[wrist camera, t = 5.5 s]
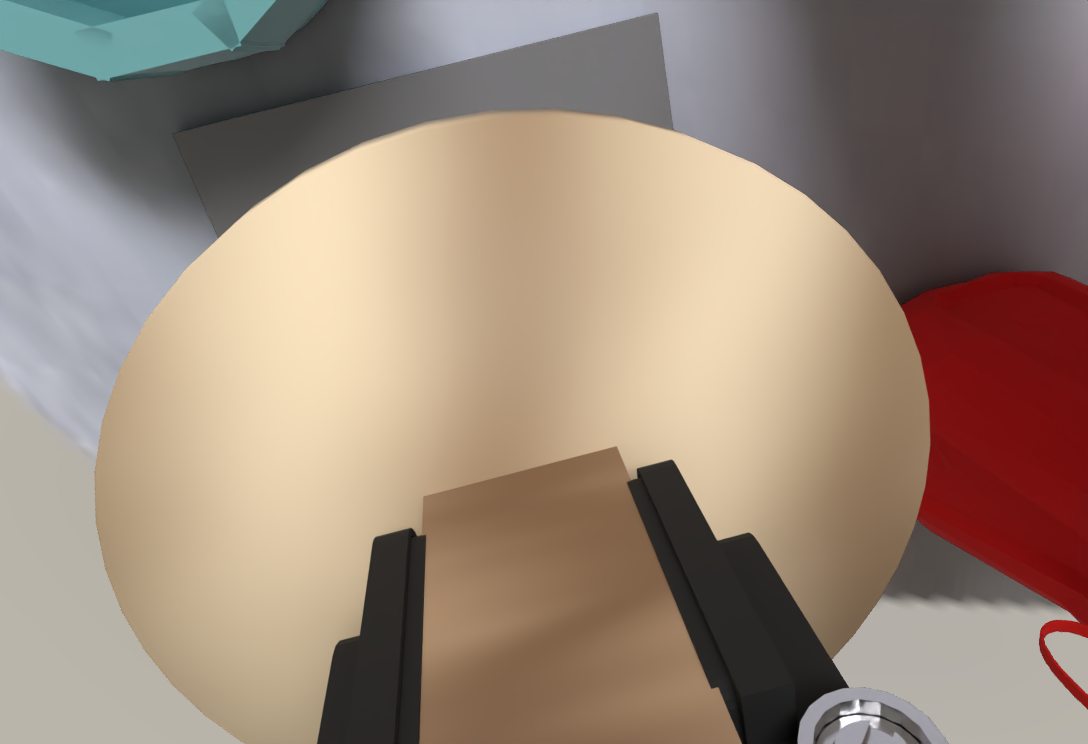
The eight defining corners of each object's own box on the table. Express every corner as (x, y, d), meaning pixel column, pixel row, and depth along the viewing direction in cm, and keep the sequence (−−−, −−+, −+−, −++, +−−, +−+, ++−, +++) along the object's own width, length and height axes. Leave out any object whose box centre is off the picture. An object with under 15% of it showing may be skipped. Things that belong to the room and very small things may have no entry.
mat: (652, 13, 22) (657, 13, 21) (703, 397, 28) (709, 405, 27) (178, 131, 21) (172, 133, 21) (338, 496, 27) (336, 505, 27)
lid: (901, 3, 9) (1868, -65, 3) (890, 664, 15) (1205, 1109, 9) (-65, 244, 9) (-1232, 727, 3) (307, 821, 15) (209, 1392, 9)
